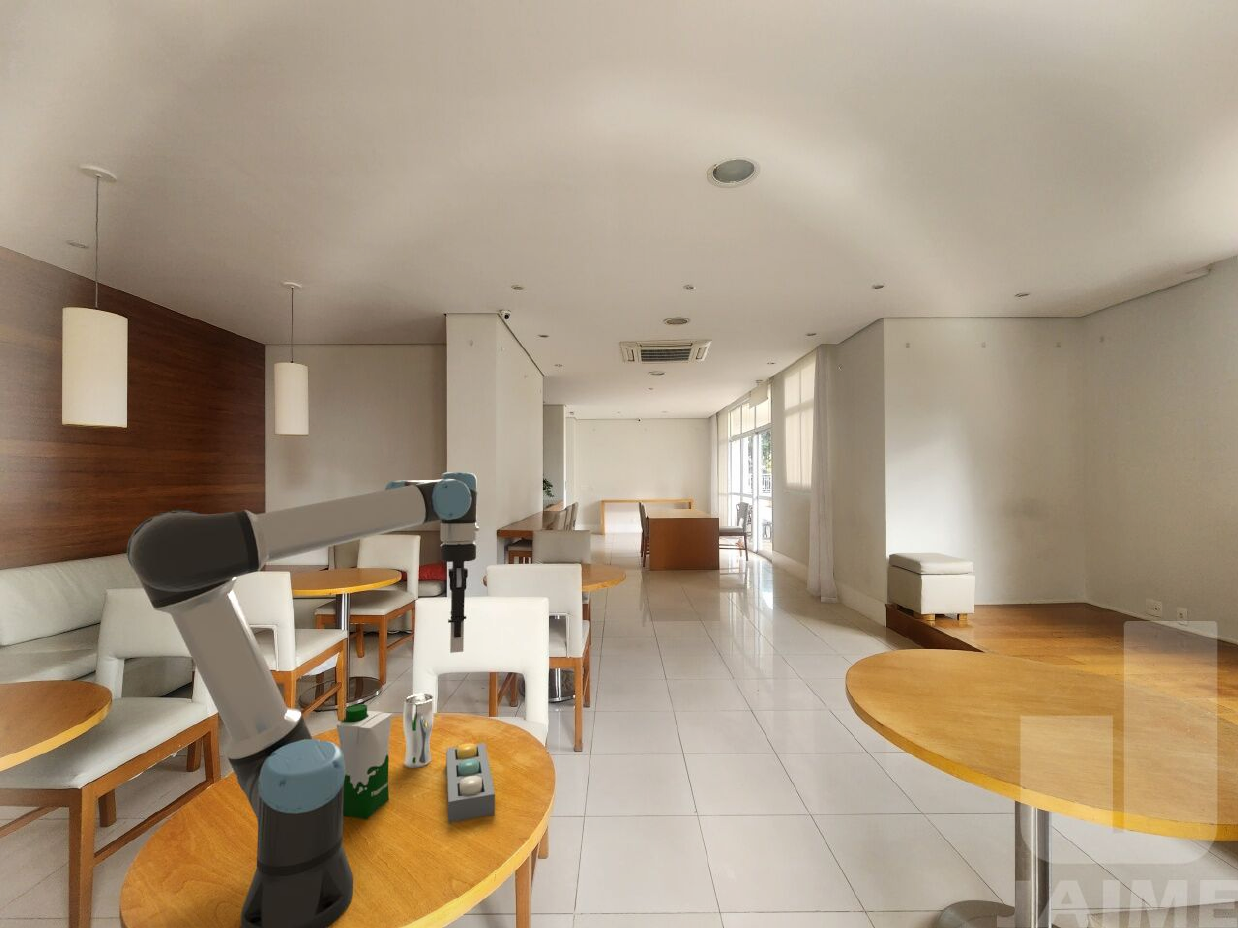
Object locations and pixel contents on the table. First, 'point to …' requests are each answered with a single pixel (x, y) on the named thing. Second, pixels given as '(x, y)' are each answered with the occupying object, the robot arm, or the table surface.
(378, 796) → the milk carton
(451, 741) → the table surface
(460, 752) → the button amber
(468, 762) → the button teal
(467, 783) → the button ivory
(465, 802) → the console
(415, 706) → the beer glass
